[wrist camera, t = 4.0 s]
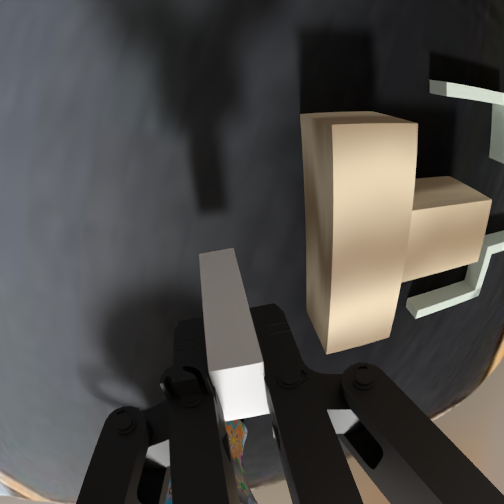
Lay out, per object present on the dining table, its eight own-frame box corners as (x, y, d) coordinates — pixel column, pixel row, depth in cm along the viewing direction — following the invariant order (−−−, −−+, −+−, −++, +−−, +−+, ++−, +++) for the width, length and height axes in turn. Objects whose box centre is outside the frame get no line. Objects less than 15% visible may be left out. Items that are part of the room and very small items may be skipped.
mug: (238, 390, 23) (265, 517, 14) (257, 438, 28) (280, 533, 19) (101, 411, 23) (92, 525, 13) (145, 455, 27) (149, 545, 18)
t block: (299, 113, 14) (331, 125, 11) (453, 114, 15) (500, 129, 12) (306, 309, 20) (326, 354, 17) (431, 279, 21) (461, 312, 18)
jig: (429, 79, 14) (446, 81, 13) (536, 102, 15) (549, 106, 14) (405, 306, 22) (415, 318, 21) (506, 271, 23) (516, 279, 22)
